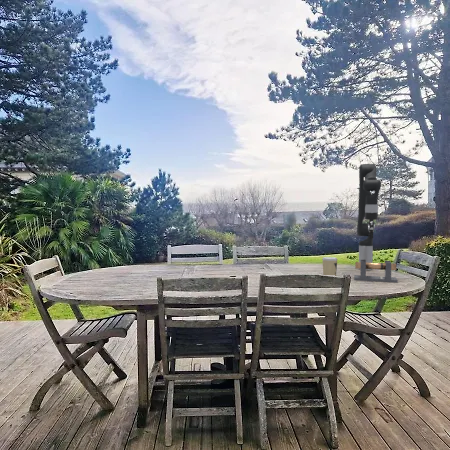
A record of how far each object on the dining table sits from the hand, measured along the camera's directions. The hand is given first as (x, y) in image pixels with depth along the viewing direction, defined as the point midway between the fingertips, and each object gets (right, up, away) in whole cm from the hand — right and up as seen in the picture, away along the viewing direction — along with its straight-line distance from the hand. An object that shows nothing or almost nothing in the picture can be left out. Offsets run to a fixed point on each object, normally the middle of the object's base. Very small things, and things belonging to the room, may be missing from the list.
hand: (370, 237), depth 237 cm
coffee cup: (-25, -25, +5) cm, 36 cm away
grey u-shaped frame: (0, -26, -7) cm, 26 cm away
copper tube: (0, -17, -7) cm, 18 cm away
